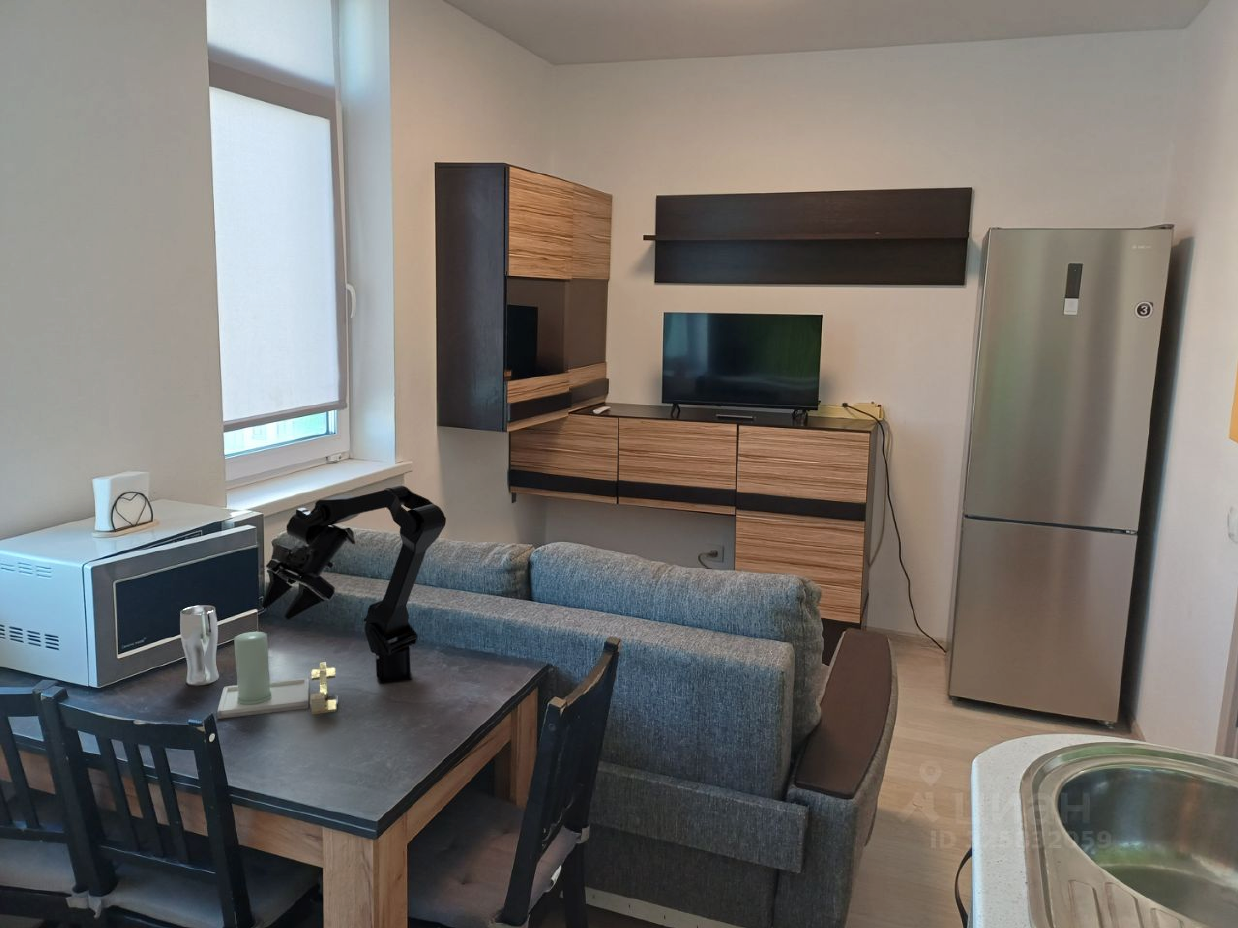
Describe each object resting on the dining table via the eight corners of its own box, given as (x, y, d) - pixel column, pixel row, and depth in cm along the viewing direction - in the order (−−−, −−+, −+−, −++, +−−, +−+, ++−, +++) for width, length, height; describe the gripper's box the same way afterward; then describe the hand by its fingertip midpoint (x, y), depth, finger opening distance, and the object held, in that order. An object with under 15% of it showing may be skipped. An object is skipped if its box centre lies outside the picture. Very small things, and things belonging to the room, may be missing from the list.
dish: (309, 684, 186) (308, 677, 186) (308, 708, 175) (307, 700, 175) (224, 693, 182) (224, 686, 181) (217, 718, 170) (217, 711, 170)
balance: (337, 689, 184) (336, 656, 183) (338, 720, 170) (336, 685, 169) (311, 692, 182) (309, 659, 181) (310, 724, 168) (308, 689, 167)
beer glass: (207, 687, 185) (201, 616, 182) (176, 684, 186) (171, 614, 184) (228, 674, 191) (223, 605, 189) (198, 672, 193) (193, 603, 190)
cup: (273, 690, 181) (269, 630, 179) (269, 702, 175) (265, 640, 173) (239, 693, 180) (235, 632, 178) (235, 706, 174) (230, 643, 172)
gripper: (272, 521, 194) (224, 581, 188) (320, 538, 182) (270, 603, 176) (307, 550, 202) (262, 609, 195) (355, 568, 190) (308, 632, 183)
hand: (274, 612), depth 187 cm, fingers open, 9 cm apart
